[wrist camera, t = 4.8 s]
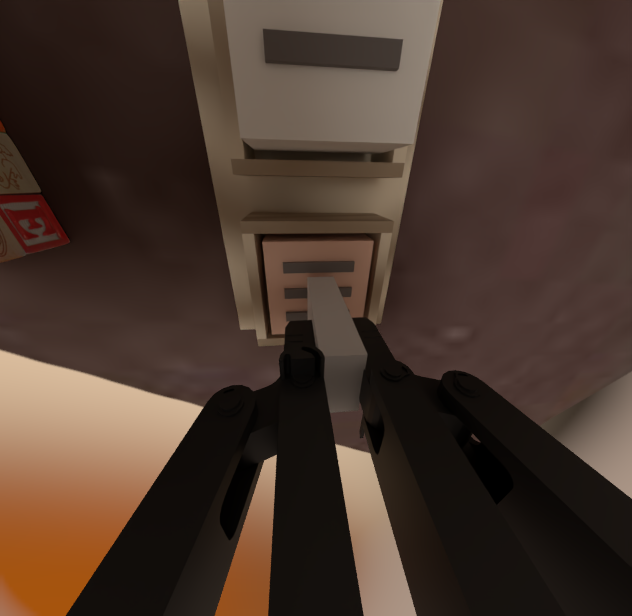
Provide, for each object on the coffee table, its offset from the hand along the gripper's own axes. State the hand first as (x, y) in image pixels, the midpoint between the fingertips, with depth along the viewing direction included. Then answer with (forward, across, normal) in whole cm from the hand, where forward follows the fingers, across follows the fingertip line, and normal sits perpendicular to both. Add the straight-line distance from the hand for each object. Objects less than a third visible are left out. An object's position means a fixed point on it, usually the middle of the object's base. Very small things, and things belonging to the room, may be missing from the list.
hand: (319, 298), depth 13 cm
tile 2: (+1, 0, +10) cm, 10 cm away
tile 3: (+4, 0, 0) cm, 4 cm away
